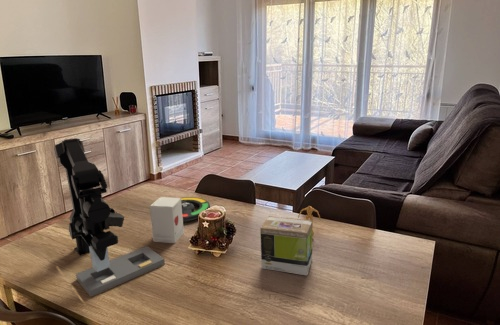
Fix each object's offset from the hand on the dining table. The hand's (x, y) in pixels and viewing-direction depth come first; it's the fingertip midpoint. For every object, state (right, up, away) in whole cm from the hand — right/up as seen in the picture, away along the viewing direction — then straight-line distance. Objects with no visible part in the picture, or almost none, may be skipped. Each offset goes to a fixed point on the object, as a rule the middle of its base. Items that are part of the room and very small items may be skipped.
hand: (99, 257), depth 109 cm
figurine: (+68, +1, +26) cm, 73 cm away
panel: (+5, -7, +6) cm, 10 cm away
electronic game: (+17, +6, +50) cm, 54 cm away
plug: (0, -3, +1) cm, 3 cm away
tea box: (+58, -5, +8) cm, 59 cm away
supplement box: (+15, 0, +28) cm, 32 cm away
